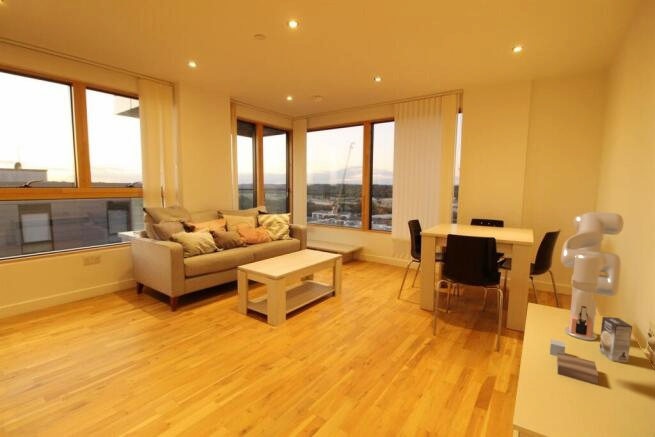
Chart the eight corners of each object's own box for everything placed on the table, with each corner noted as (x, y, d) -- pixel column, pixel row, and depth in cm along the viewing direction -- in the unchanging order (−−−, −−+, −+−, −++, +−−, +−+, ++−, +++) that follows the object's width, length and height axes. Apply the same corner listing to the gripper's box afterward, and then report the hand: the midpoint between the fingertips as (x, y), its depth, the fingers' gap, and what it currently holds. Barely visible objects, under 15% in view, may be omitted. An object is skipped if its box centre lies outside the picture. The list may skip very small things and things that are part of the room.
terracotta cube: (570, 328, 128) (571, 313, 128) (589, 332, 125) (590, 317, 124) (570, 333, 123) (572, 318, 123) (590, 337, 120) (592, 322, 119)
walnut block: (556, 361, 134) (557, 352, 134) (593, 371, 127) (594, 361, 127) (557, 375, 124) (558, 365, 124) (597, 386, 118) (598, 376, 117)
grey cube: (549, 349, 143) (550, 339, 143) (563, 353, 140) (564, 342, 140) (549, 354, 139) (550, 343, 139) (563, 358, 136) (565, 347, 136)
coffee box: (597, 350, 143) (601, 316, 142) (614, 352, 142) (618, 317, 141) (611, 361, 134) (615, 324, 133) (629, 363, 133) (633, 326, 132)
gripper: (571, 279, 132) (567, 321, 133) (573, 289, 117) (569, 336, 119) (594, 282, 127) (590, 325, 129) (600, 293, 113) (595, 342, 115)
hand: (580, 330), depth 124 cm, fingers closed on terracotta cube, 6 cm apart
